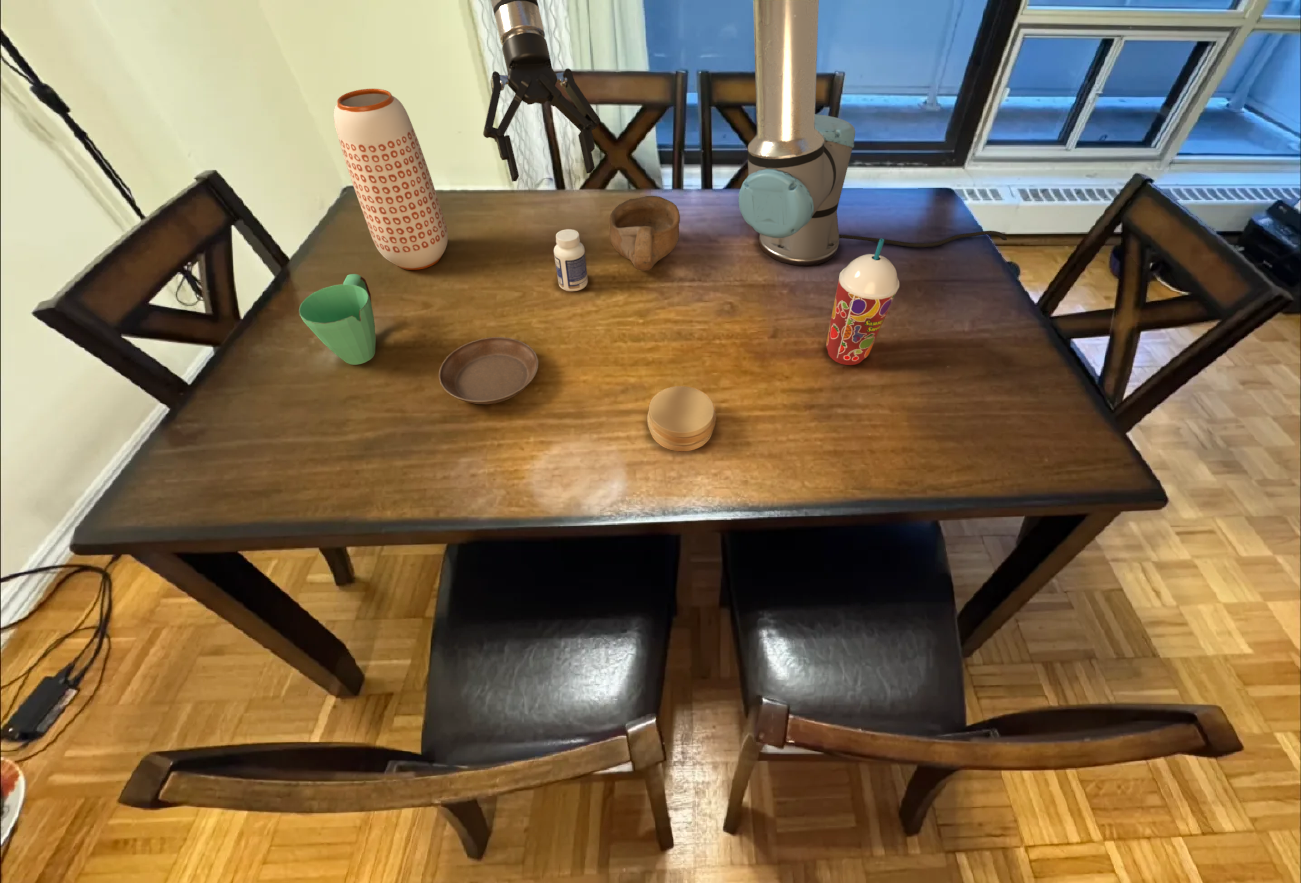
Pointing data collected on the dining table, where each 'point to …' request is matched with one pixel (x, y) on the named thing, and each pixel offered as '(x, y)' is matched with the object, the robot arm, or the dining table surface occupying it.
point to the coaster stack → (681, 418)
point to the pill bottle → (570, 261)
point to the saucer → (488, 370)
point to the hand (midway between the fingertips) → (554, 174)
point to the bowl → (644, 230)
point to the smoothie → (861, 306)
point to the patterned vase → (391, 178)
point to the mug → (343, 319)
